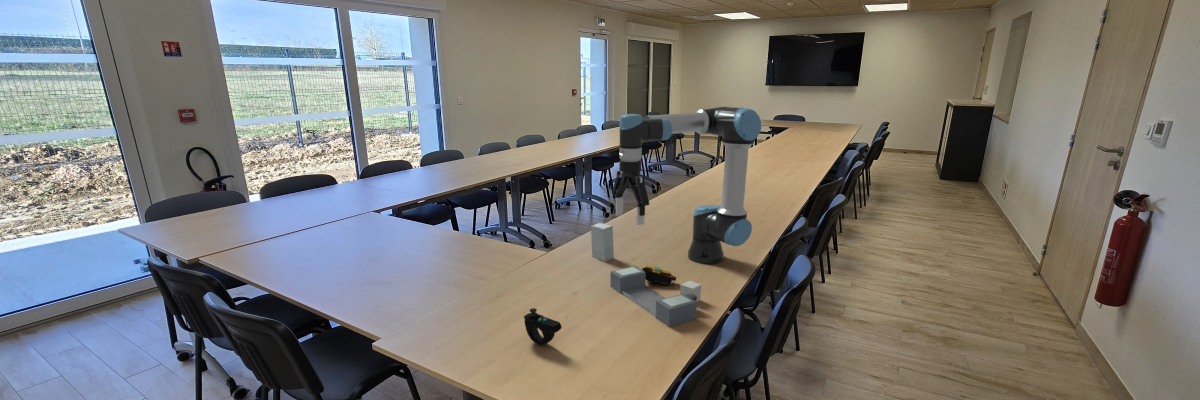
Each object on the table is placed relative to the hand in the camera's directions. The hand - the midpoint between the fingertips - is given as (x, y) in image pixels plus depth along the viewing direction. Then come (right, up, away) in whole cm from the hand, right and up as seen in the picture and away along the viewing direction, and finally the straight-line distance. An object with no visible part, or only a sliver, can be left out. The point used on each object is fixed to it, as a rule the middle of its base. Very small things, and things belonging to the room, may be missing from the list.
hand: (629, 219), depth 178 cm
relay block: (+21, -28, 0) cm, 36 cm away
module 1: (0, -26, +11) cm, 28 cm away
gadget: (+14, -26, +13) cm, 33 cm away
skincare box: (-9, -18, +41) cm, 46 cm away
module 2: (+14, -32, -14) cm, 37 cm away
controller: (-27, -36, -29) cm, 54 cm away
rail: (+7, -29, -1) cm, 30 cm away
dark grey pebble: (+20, -30, -8) cm, 37 cm away
